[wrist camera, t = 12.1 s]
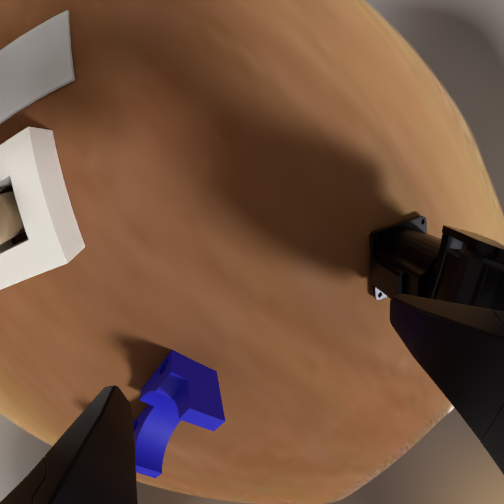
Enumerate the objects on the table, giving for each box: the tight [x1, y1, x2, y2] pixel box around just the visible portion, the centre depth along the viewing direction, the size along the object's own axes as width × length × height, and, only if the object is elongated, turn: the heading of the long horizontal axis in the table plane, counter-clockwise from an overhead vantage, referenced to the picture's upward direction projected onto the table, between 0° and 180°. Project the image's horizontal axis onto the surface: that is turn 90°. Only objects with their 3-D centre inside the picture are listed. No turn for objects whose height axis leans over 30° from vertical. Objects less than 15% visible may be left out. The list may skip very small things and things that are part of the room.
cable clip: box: [133, 350, 225, 478], centre depth 21 cm, size 12×4×6 cm, turn 141°
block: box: [0, 127, 85, 290], centre depth 14 cm, size 9×9×4 cm
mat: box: [0, 10, 75, 124], centre depth 12 cm, size 8×7×1 cm
